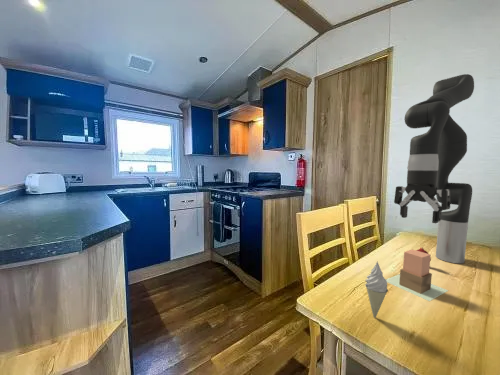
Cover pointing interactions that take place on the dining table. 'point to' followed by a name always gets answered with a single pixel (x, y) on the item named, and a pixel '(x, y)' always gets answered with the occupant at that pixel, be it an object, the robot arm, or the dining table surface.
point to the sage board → (427, 295)
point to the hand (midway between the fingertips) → (418, 220)
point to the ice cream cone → (376, 288)
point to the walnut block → (415, 281)
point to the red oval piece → (423, 251)
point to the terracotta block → (416, 262)
